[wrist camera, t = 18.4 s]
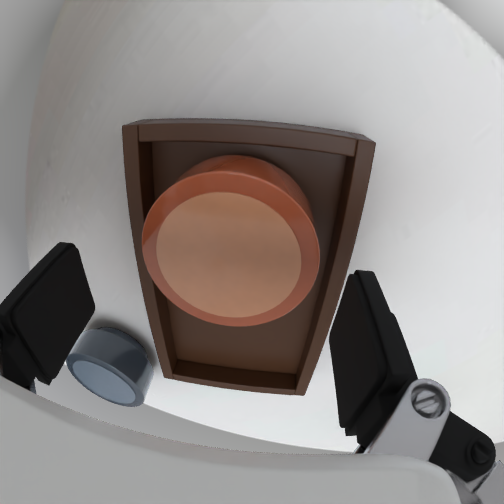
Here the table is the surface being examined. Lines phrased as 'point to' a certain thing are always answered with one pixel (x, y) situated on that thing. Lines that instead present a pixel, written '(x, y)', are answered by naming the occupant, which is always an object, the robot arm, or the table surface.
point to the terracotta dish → (232, 242)
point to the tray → (327, 227)
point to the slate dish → (111, 366)
